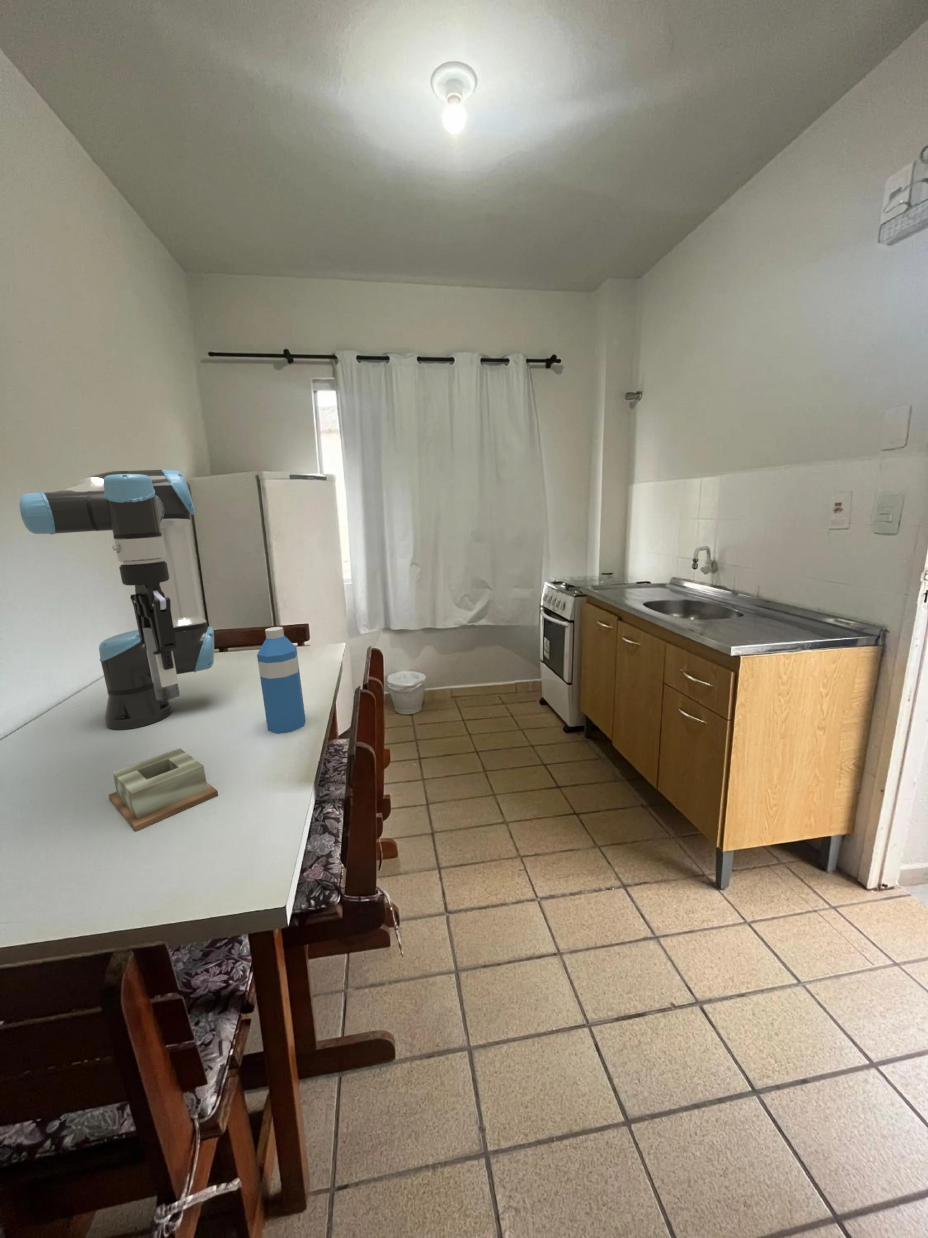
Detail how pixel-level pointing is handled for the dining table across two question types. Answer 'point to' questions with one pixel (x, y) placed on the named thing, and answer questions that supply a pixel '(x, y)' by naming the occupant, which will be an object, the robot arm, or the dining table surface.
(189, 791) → the socket
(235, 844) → the dining table surface
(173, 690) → the peg
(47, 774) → the dining table surface
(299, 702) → the water bottle
